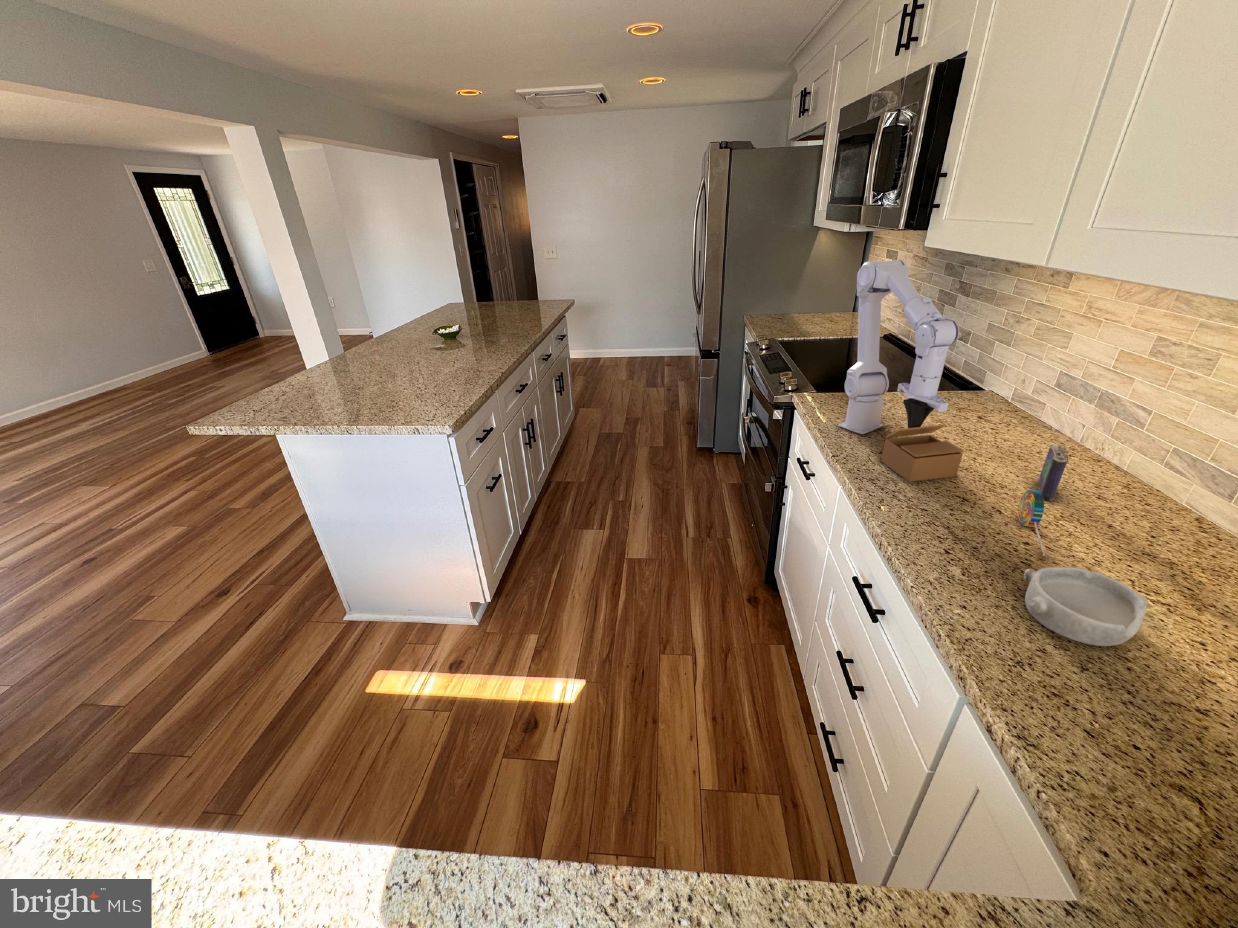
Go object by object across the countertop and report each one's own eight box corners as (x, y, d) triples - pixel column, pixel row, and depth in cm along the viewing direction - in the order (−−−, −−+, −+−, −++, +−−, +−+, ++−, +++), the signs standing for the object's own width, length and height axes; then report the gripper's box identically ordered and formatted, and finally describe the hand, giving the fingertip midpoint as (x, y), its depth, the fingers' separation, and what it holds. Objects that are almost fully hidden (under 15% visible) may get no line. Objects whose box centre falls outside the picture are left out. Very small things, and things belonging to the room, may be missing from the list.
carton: (880, 460, 126) (886, 436, 123) (924, 455, 127) (930, 431, 124) (909, 481, 116) (915, 455, 113) (956, 476, 118) (963, 450, 115)
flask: (1036, 480, 115) (1052, 436, 110) (1052, 483, 113) (1069, 439, 108) (1039, 498, 108) (1056, 453, 103) (1056, 502, 106) (1075, 456, 101)
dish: (1137, 612, 79) (1151, 587, 76) (1137, 668, 70) (1153, 642, 67) (1022, 574, 87) (1032, 550, 85) (1009, 619, 78) (1019, 595, 76)
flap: (886, 437, 123) (886, 436, 123) (931, 432, 124) (930, 431, 124) (899, 430, 118) (899, 429, 118) (946, 425, 119) (945, 424, 119)
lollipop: (1031, 566, 94) (1015, 506, 104) (1040, 567, 93) (1023, 507, 103) (1048, 543, 89) (1029, 482, 99) (1058, 544, 89) (1038, 483, 98)
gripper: (890, 367, 121) (879, 419, 128) (932, 385, 109) (918, 443, 115) (917, 364, 122) (905, 416, 128) (962, 383, 109) (946, 440, 116)
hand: (913, 429), depth 122 cm, fingers closed
